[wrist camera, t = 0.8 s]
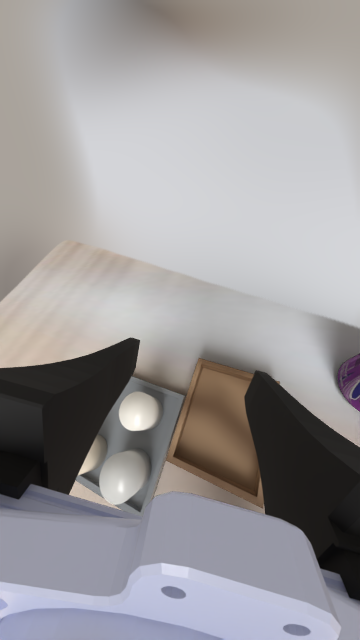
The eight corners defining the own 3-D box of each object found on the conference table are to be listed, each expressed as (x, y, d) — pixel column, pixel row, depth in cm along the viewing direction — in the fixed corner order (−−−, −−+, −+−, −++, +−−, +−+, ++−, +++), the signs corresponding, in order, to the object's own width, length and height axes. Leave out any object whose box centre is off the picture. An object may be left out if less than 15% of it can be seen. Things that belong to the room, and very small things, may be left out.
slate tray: (146, 518, 21) (142, 523, 20) (64, 467, 25) (58, 469, 24) (185, 396, 26) (184, 395, 25) (113, 370, 30) (109, 368, 29)
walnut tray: (258, 500, 20) (262, 508, 18) (170, 457, 23) (165, 460, 21) (274, 385, 25) (279, 381, 23) (200, 363, 28) (198, 357, 26)
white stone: (155, 435, 24) (143, 437, 20) (128, 422, 25) (112, 422, 22) (167, 402, 26) (158, 398, 22) (141, 392, 27) (128, 386, 23)
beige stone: (97, 476, 23) (75, 485, 20) (73, 462, 24) (49, 467, 21) (112, 441, 25) (95, 443, 21) (89, 429, 26) (69, 430, 22)
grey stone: (142, 498, 21) (126, 513, 18) (113, 480, 23) (91, 491, 19) (156, 457, 23) (144, 463, 19) (128, 443, 24) (111, 446, 20)
